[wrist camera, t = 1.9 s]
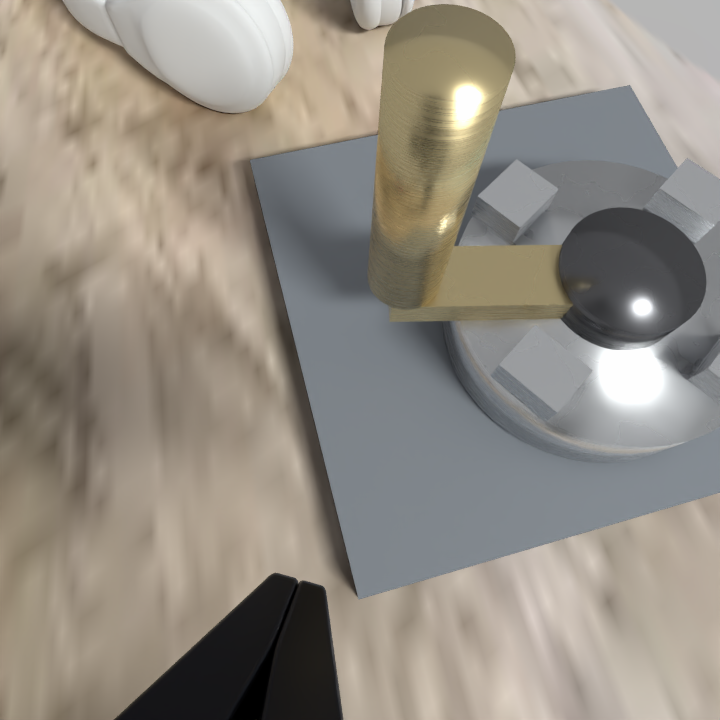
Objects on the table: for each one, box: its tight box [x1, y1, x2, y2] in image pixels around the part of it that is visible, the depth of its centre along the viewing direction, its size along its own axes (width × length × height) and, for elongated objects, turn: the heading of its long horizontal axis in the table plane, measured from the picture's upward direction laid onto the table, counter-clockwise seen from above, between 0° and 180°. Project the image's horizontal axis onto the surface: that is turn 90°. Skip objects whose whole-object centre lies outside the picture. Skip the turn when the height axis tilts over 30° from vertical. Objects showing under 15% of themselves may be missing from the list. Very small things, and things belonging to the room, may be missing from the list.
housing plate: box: [250, 85, 720, 599], centre depth 25 cm, size 20×20×2 cm
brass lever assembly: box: [367, 4, 720, 463], centre depth 17 cm, size 15×12×13 cm
